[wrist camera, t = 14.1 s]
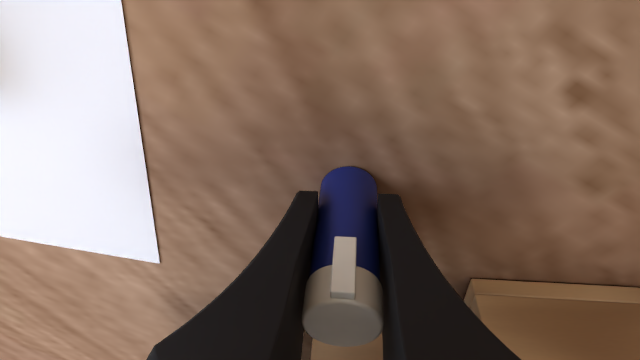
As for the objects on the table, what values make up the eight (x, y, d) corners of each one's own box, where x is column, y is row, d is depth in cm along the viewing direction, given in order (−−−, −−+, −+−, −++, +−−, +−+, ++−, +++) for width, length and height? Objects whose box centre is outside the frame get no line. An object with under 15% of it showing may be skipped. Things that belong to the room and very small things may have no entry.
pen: (320, 208, 15) (303, 345, 11) (318, 157, 14) (297, 293, 9) (376, 210, 15) (380, 350, 11) (380, 159, 14) (387, 298, 9)
